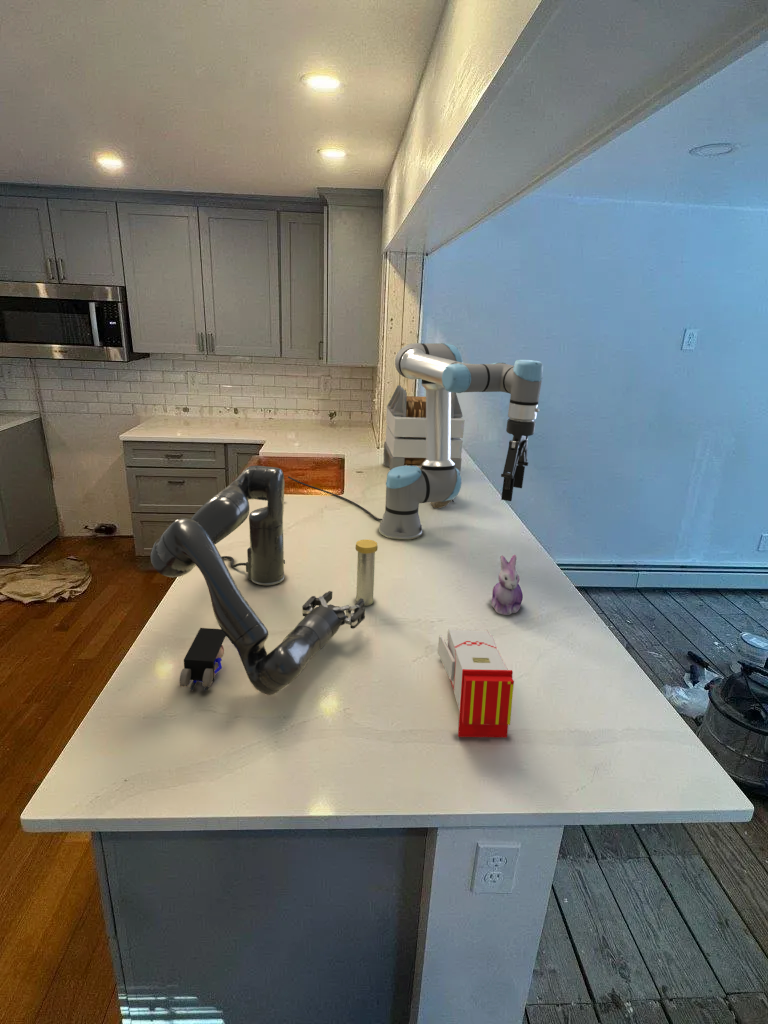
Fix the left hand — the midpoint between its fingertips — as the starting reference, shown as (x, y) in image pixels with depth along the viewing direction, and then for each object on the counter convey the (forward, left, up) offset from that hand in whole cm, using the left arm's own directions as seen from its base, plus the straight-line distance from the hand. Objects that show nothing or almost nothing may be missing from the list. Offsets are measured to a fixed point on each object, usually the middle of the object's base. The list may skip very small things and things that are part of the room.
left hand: (346, 598), depth 140 cm
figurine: (+36, +26, -7) cm, 44 cm away
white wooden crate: (-27, +140, -7) cm, 143 cm away
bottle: (0, +12, -7) cm, 14 cm away
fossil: (-4, +104, -7) cm, 104 cm away
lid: (0, +12, +10) cm, 15 cm away
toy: (+35, -14, -7) cm, 39 cm away
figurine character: (-17, -33, -7) cm, 37 cm away
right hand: (+31, +43, +20) cm, 57 cm away
